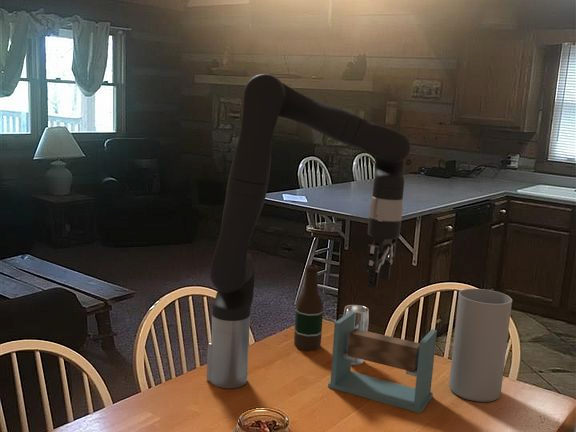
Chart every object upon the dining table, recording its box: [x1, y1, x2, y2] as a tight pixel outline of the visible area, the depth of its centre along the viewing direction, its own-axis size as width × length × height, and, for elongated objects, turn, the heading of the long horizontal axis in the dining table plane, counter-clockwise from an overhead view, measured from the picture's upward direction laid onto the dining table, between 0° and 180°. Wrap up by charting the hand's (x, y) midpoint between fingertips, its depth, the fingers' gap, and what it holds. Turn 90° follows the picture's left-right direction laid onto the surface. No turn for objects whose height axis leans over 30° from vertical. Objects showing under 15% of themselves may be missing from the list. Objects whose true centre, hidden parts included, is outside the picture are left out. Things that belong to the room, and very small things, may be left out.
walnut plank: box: [348, 329, 420, 372], centre depth 152 cm, size 17×4×6 cm, turn 62°
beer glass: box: [343, 304, 370, 366], centre depth 171 cm, size 7×7×15 cm
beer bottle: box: [293, 264, 324, 352], centre depth 179 cm, size 8×8×24 cm
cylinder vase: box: [448, 288, 513, 403], centre depth 155 cm, size 12×12×25 cm
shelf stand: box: [327, 312, 438, 414], centre depth 152 cm, size 24×10×17 cm, turn 62°
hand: (378, 283), depth 149 cm, fingers open, 8 cm apart
